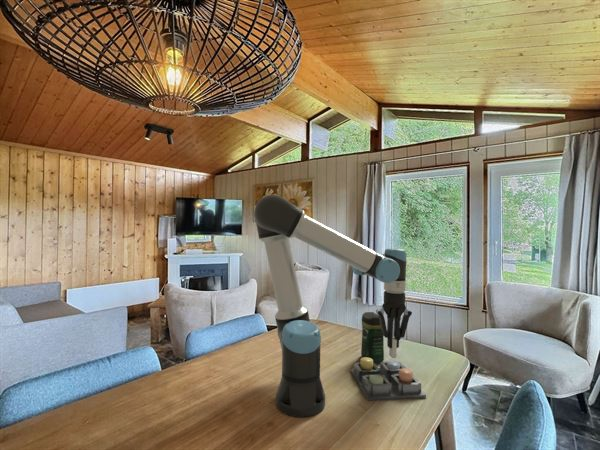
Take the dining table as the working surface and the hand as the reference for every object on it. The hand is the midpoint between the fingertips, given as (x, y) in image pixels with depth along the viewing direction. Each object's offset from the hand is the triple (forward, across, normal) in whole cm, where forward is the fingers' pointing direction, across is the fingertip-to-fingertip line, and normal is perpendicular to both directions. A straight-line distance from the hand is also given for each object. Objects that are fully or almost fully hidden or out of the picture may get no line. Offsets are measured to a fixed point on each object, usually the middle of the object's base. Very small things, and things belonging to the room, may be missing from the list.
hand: (392, 356), depth 116 cm
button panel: (+7, -5, -5) cm, 10 cm away
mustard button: (+4, -10, 0) cm, 10 cm away
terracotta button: (+4, 0, -10) cm, 11 cm away
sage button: (+6, -10, -10) cm, 15 cm away
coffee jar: (+7, -2, +16) cm, 17 cm away
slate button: (+6, 0, 0) cm, 6 cm away
